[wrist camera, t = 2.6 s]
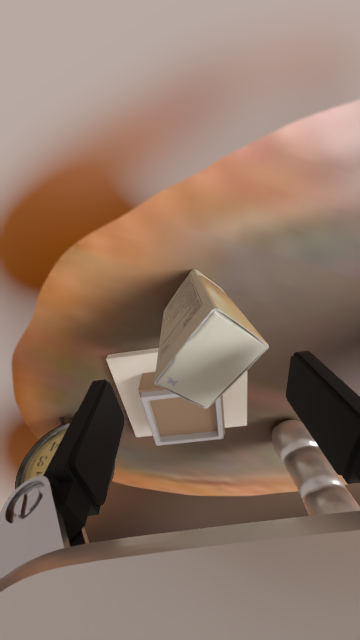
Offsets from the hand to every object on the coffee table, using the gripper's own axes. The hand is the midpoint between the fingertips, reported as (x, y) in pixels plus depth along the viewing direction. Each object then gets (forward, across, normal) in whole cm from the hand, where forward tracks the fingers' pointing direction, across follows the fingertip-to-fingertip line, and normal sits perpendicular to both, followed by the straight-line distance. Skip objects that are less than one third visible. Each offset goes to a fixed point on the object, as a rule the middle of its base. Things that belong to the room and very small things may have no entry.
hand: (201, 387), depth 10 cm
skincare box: (+14, -1, 0) cm, 14 cm away
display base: (+14, +2, +14) cm, 20 cm away
